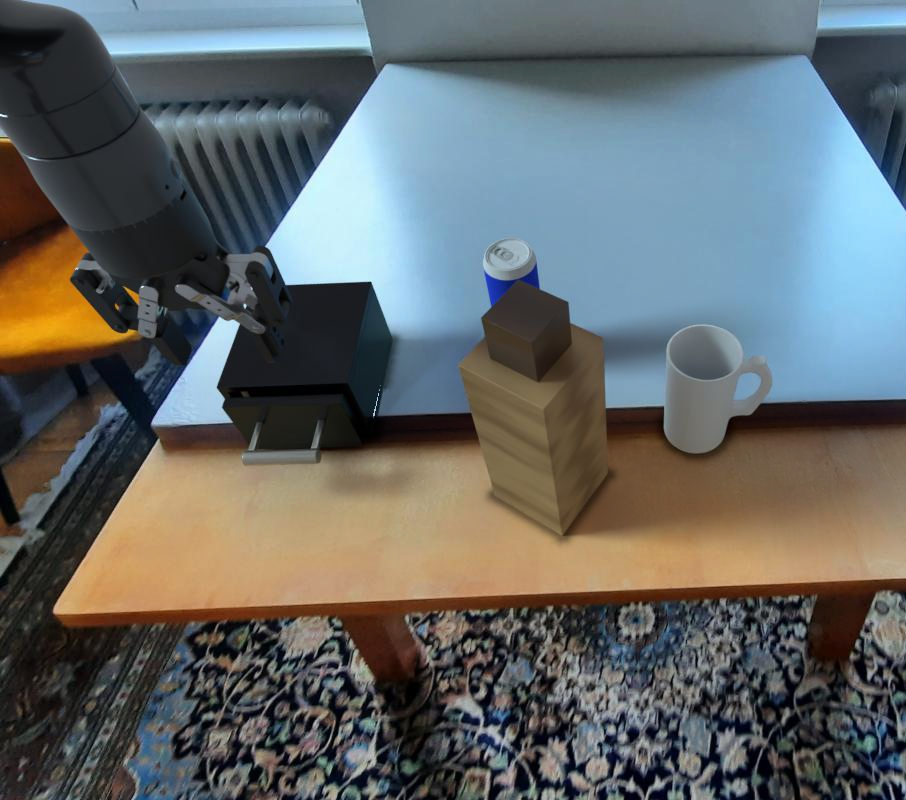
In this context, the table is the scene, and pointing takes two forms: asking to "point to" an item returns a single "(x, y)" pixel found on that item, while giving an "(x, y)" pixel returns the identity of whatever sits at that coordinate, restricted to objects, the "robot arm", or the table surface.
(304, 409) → the drawer
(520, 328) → the block
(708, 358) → the mug
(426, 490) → the table surface
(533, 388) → the stand
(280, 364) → the black drawer cabinet
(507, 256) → the beverage can
